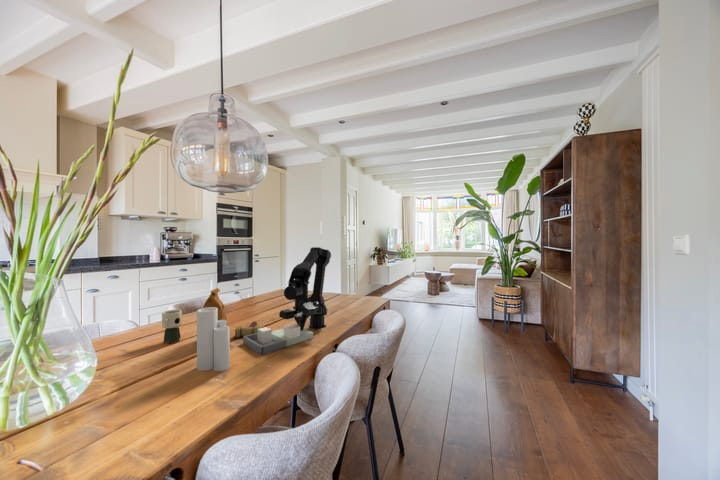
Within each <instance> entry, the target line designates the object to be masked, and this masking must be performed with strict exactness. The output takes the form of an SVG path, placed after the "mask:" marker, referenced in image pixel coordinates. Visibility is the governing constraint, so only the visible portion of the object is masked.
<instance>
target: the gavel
mask: <svg viewBox="0 0 720 480" xmlns="http://www.w3.org/2000/svg"><path fill="white" fill-rule="evenodd" d="M257 325H258V323H257V321H252V323H250V324H249V326H246V327H242V326H236V328H235V330H234V337H235V338H241V337H243V336H247V335H251V334H255V333H258V329H260V326H259V325H258V326H257Z"/></svg>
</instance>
